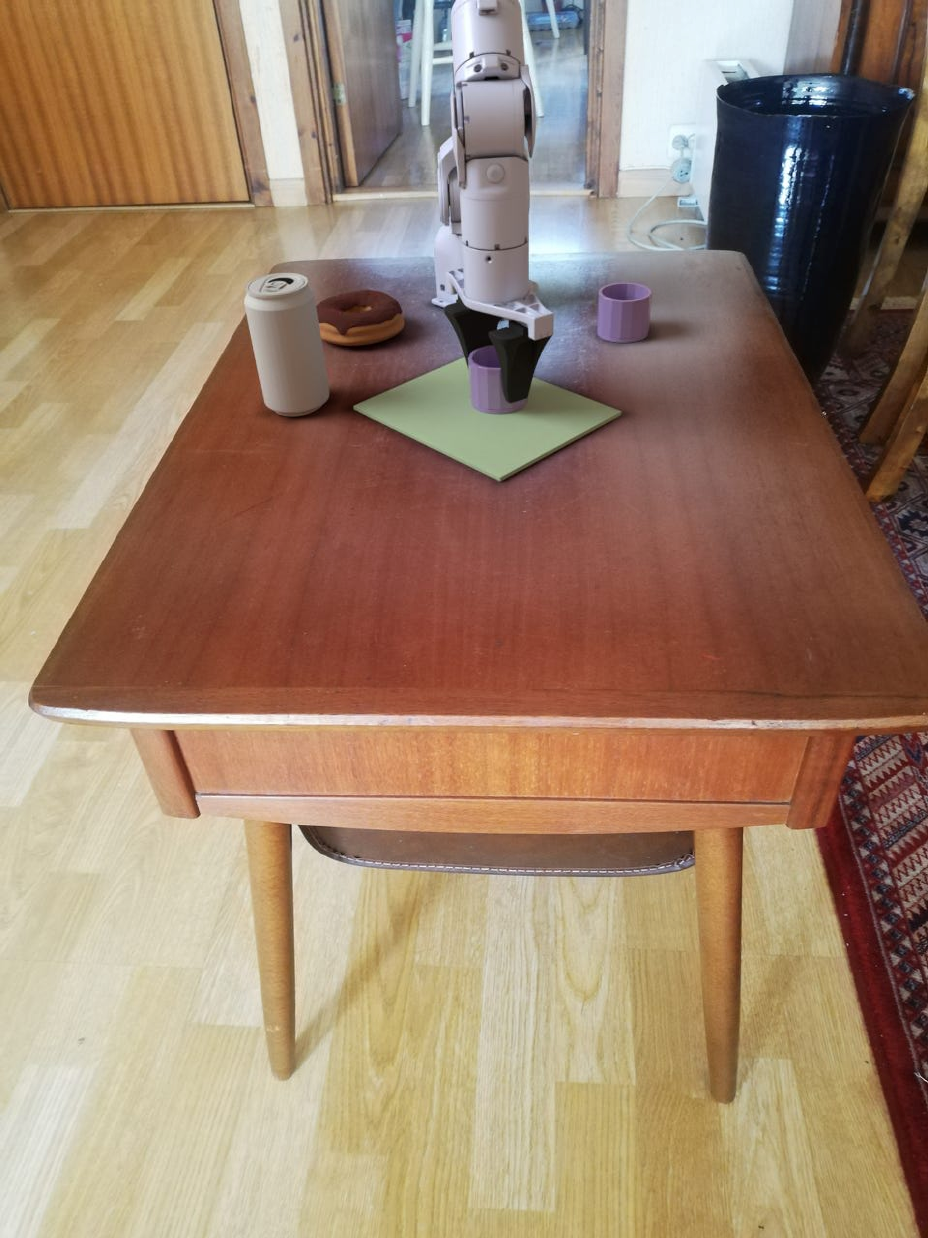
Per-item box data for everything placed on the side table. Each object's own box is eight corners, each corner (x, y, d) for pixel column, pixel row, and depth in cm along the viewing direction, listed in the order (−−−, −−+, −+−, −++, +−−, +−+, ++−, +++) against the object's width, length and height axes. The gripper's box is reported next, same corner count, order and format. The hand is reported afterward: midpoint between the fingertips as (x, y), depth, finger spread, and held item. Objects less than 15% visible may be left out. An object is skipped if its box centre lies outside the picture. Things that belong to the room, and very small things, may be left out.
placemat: (353, 409, 89) (353, 405, 89) (472, 356, 98) (472, 353, 97) (500, 481, 78) (499, 477, 78) (621, 415, 86) (621, 411, 86)
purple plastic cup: (475, 387, 91) (474, 343, 88) (531, 389, 90) (531, 345, 87) (466, 413, 87) (463, 368, 84) (524, 415, 86) (523, 370, 83)
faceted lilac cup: (586, 333, 101) (588, 292, 98) (618, 318, 104) (621, 278, 101) (626, 347, 98) (629, 305, 95) (658, 331, 100) (662, 290, 98)
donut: (400, 313, 108) (397, 278, 105) (409, 346, 100) (406, 310, 98) (314, 322, 107) (308, 287, 105) (316, 356, 100) (311, 320, 97)
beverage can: (341, 393, 92) (324, 272, 85) (312, 423, 88) (291, 297, 80) (284, 387, 94) (262, 267, 86) (253, 415, 89) (227, 292, 82)
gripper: (584, 251, 76) (579, 403, 84) (488, 211, 85) (492, 351, 94) (513, 270, 73) (515, 425, 82) (422, 226, 83) (432, 370, 91)
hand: (499, 387), depth 88 cm, fingers closed on purple plastic cup, 5 cm apart
